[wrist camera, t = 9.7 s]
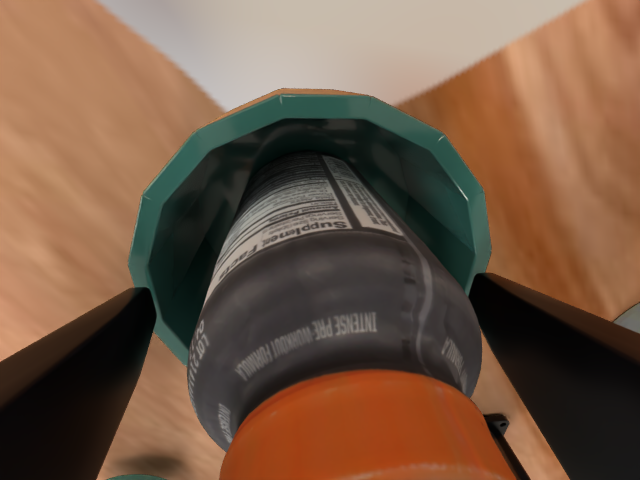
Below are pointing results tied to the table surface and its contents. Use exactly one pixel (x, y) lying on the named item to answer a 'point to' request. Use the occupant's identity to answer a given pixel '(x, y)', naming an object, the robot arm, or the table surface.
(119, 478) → the beverage bottle
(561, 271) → the table surface
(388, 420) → the pill bottle
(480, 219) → the green bowl
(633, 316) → the grey green planter pot
